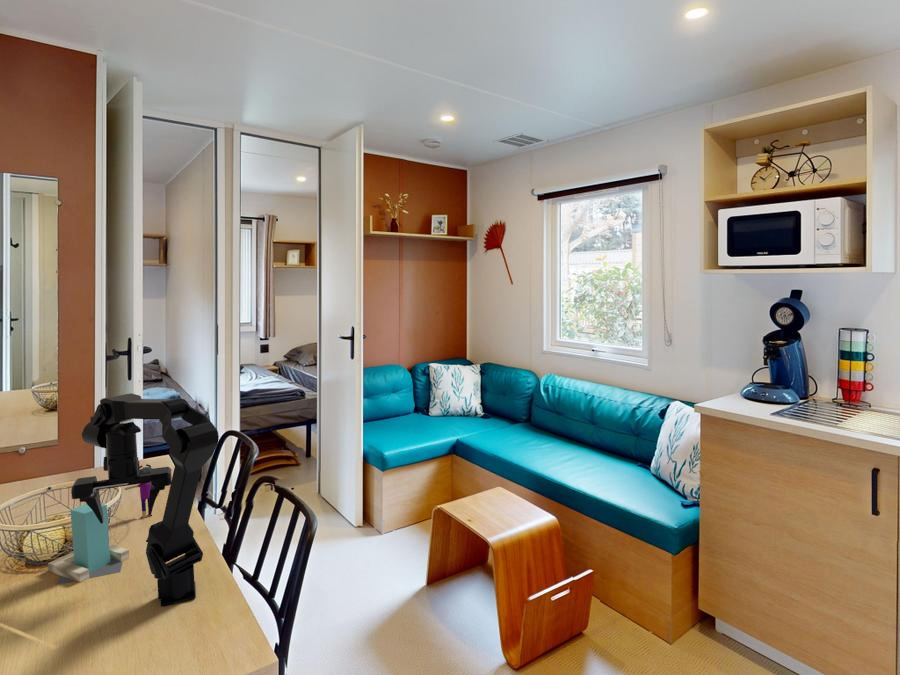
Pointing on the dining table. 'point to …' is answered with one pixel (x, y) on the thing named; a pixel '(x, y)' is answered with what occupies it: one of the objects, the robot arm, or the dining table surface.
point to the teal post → (90, 538)
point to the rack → (77, 573)
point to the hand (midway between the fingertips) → (126, 518)
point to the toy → (144, 489)
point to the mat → (97, 571)
